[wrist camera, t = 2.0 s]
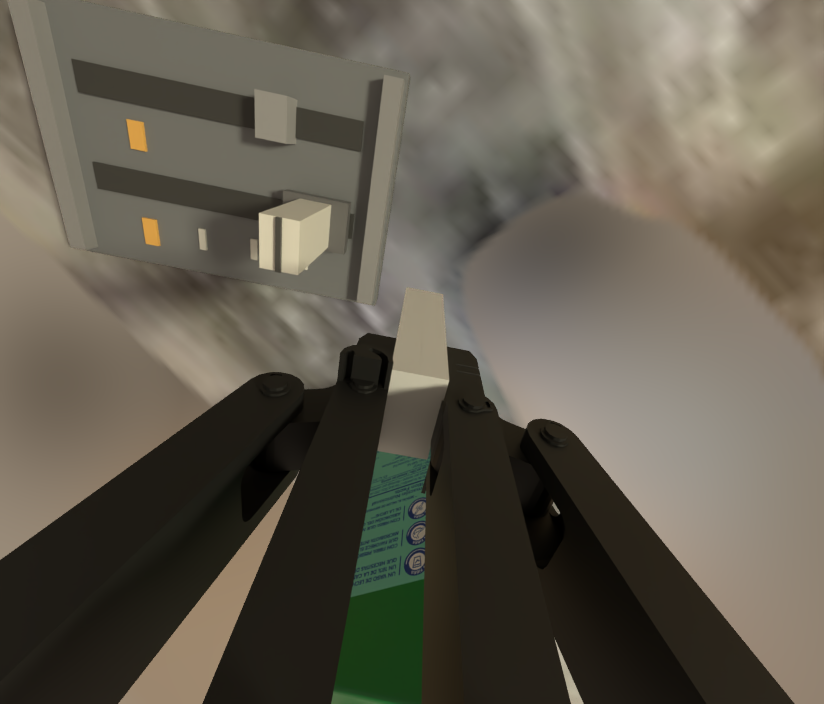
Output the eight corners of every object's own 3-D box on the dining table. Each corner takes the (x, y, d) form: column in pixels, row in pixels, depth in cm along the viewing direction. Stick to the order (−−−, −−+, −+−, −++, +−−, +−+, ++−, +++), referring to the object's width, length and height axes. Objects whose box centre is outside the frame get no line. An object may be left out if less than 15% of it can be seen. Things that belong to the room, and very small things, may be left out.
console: (41, -5, 24) (-17, -28, 21) (410, 77, 25) (407, 66, 22) (96, 245, 31) (59, 255, 28) (377, 299, 32) (371, 314, 29)
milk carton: (358, 400, 38) (256, 748, 16) (439, 368, 35) (451, 721, 13) (400, 461, 41) (364, 811, 19) (475, 434, 39) (532, 798, 17)
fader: (287, 188, 27) (233, 202, 19) (351, 202, 27) (321, 220, 20) (286, 239, 28) (236, 269, 21) (346, 251, 28) (317, 285, 21)
